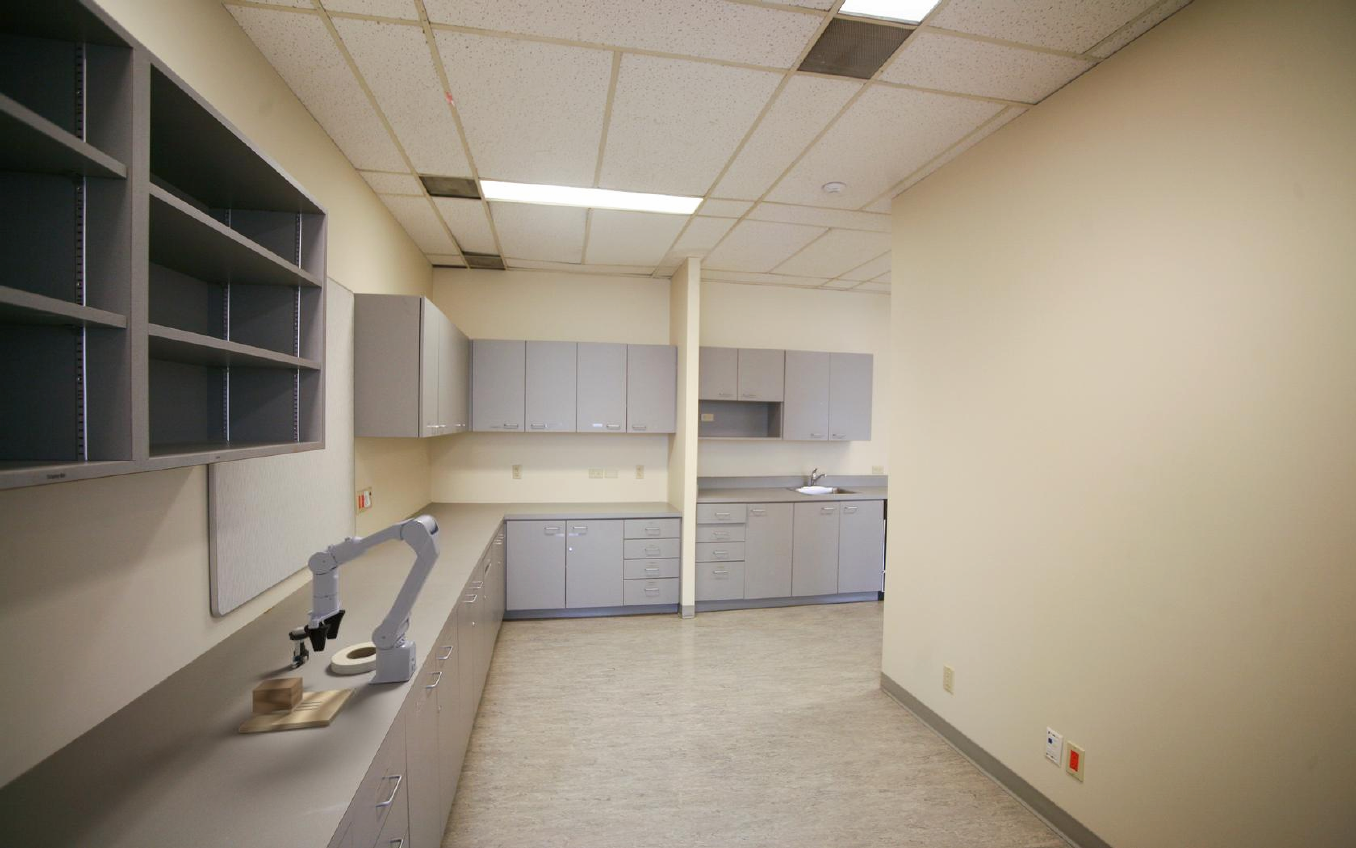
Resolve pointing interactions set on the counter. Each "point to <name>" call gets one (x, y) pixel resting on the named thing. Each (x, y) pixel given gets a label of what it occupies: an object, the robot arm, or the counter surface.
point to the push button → (299, 646)
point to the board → (303, 712)
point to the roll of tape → (348, 665)
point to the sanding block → (277, 696)
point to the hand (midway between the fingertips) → (325, 644)
